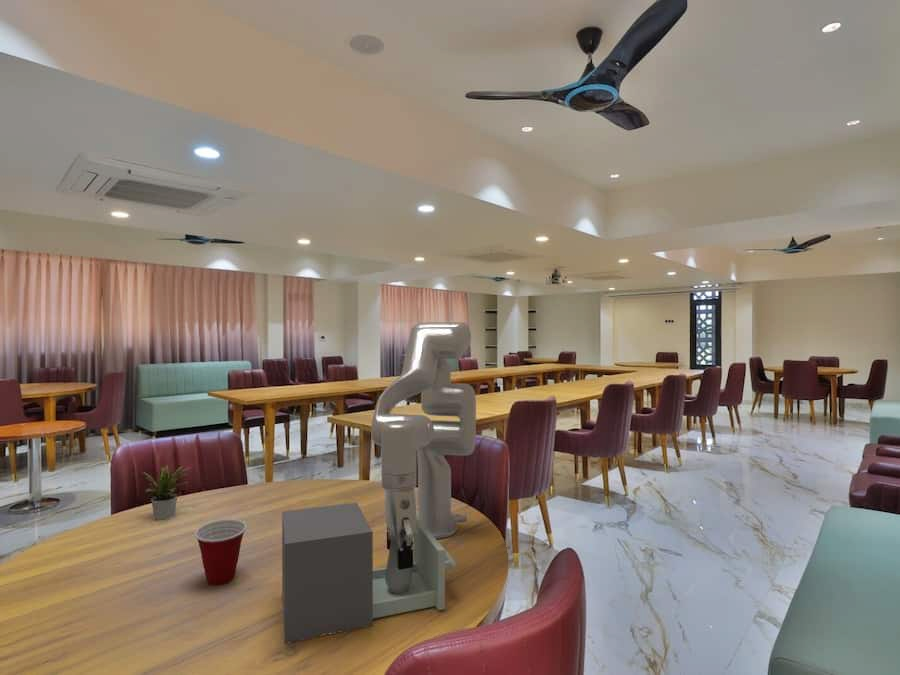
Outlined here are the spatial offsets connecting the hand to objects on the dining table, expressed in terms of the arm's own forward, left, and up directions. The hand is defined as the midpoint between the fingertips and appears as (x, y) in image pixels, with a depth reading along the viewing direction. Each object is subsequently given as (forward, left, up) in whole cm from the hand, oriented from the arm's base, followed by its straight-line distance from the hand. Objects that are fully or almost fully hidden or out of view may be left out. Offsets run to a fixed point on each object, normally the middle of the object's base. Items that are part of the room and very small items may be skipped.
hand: (399, 557), depth 105 cm
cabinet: (+16, 0, -8) cm, 18 cm away
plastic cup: (+37, -21, -8) cm, 43 cm away
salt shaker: (0, 0, -7) cm, 7 cm away
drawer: (-1, 0, -8) cm, 8 cm away
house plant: (+56, -70, -8) cm, 90 cm away
